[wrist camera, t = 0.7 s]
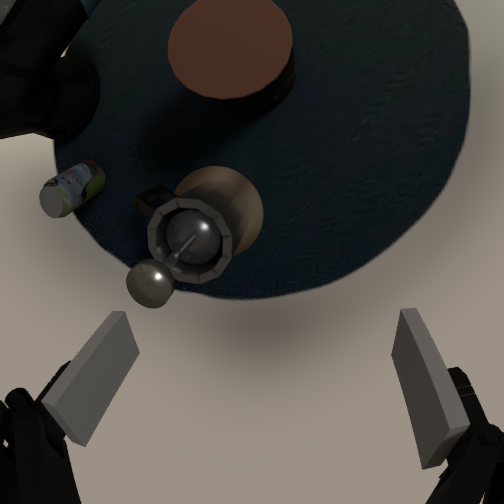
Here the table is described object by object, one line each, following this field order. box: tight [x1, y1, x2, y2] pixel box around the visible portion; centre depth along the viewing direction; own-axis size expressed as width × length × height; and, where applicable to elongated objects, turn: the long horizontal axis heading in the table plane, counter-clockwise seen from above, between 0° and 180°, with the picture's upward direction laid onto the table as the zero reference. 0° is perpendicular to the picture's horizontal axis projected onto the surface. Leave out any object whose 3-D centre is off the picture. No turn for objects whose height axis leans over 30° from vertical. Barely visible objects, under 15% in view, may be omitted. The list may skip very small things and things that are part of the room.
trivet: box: [174, 166, 263, 256], centre depth 45 cm, size 14×14×1 cm
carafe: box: [131, 180, 249, 284], centre depth 39 cm, size 13×10×12 cm
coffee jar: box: [168, 0, 295, 111], centre depth 29 cm, size 11×11×18 cm
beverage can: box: [39, 160, 105, 218], centre depth 41 cm, size 6×7×12 cm
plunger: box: [126, 209, 222, 308], centre depth 30 cm, size 7×7×13 cm
